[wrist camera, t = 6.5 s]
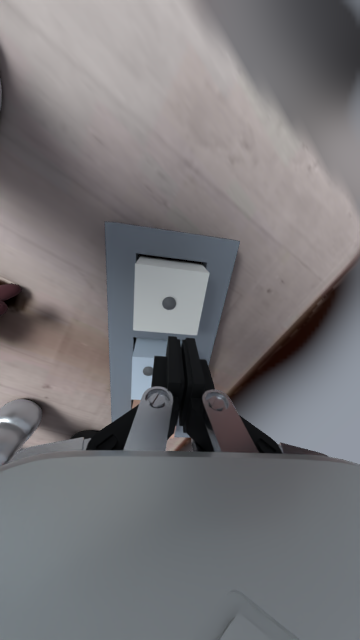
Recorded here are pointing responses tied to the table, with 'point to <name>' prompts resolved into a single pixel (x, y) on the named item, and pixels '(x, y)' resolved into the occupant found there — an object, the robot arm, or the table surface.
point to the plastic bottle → (17, 426)
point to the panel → (120, 270)
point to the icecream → (7, 295)
